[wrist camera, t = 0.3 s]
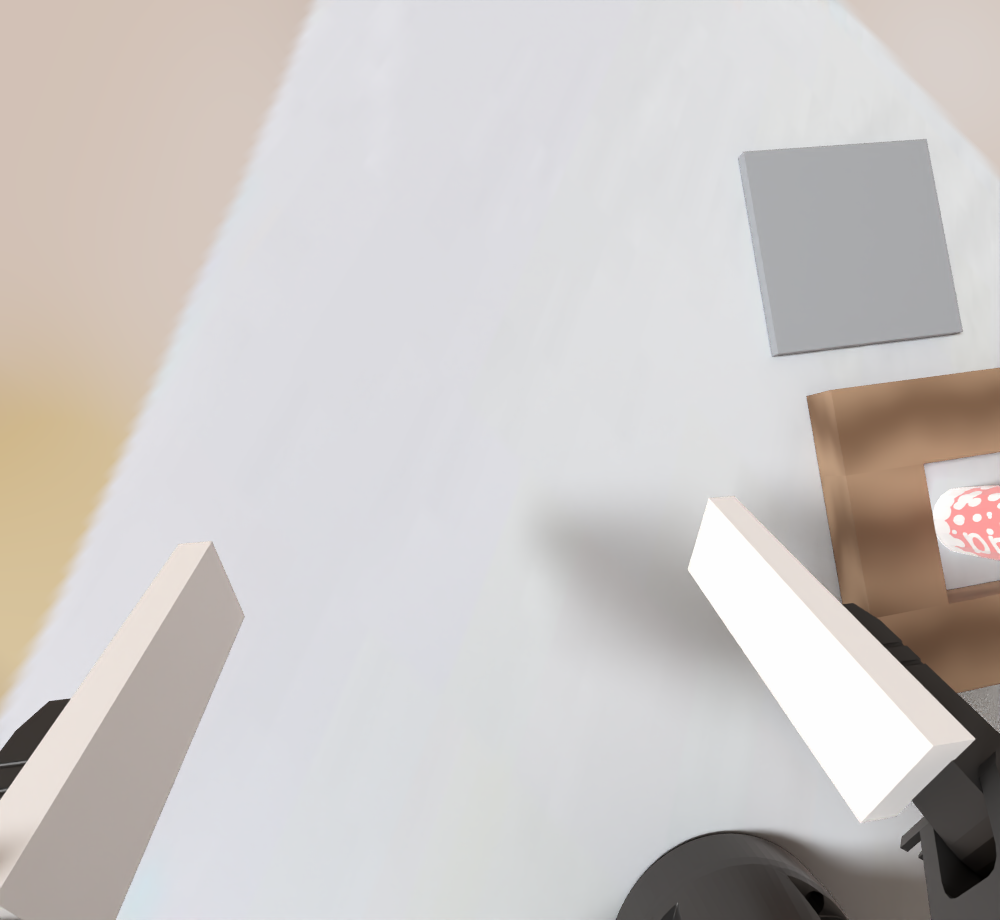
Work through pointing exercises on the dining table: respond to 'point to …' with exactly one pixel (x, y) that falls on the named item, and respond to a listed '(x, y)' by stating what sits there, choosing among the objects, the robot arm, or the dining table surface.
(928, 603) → the pocket holder
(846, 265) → the rubber mat
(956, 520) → the beverage cup
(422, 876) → the dining table surface
